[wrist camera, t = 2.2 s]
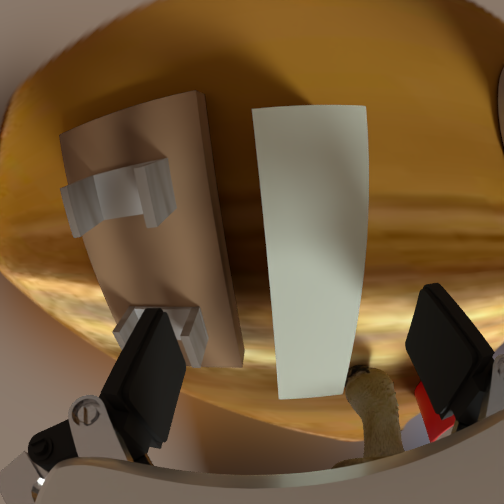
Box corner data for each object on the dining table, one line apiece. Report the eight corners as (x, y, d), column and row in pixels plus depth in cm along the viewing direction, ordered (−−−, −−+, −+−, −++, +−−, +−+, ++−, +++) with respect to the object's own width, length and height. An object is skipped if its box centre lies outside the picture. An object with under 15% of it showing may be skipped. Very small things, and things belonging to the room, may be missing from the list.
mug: (483, 325, 20) (514, 375, 13) (456, 386, 25) (474, 429, 18) (428, 347, 22) (455, 407, 15) (409, 405, 27) (423, 452, 20)
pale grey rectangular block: (324, 114, 14) (369, 106, 7) (326, 309, 20) (345, 393, 13) (261, 118, 15) (251, 108, 7) (278, 312, 21) (278, 399, 13)
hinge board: (204, 93, 14) (177, 82, 9) (244, 350, 23) (238, 396, 18) (76, 131, 15) (29, 141, 11) (143, 346, 24) (124, 385, 19)
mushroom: (406, 375, 24) (441, 493, 10) (334, 402, 26) (346, 523, 13) (395, 320, 20) (455, 480, 7) (304, 357, 23) (312, 522, 9)
